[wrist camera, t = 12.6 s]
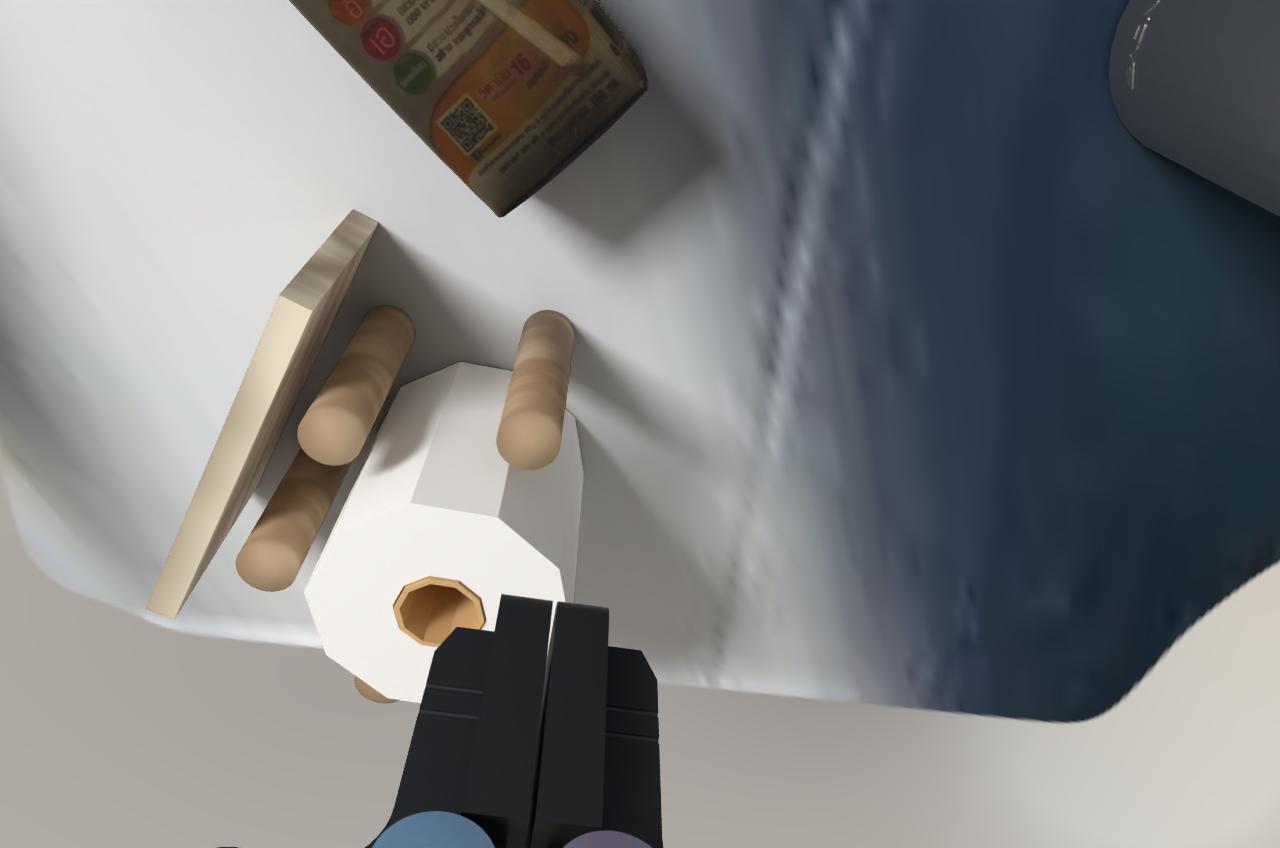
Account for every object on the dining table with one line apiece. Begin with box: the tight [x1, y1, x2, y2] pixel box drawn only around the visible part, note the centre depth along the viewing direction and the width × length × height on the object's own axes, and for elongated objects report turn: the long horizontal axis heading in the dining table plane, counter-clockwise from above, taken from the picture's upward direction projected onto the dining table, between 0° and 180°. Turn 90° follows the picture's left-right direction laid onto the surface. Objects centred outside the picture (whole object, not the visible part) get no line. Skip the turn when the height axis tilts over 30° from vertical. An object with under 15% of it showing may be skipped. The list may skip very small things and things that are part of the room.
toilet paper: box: [304, 362, 584, 703], centre depth 43 cm, size 10×10×12 cm
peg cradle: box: [146, 210, 574, 703], centre depth 42 cm, size 11×16×10 cm
